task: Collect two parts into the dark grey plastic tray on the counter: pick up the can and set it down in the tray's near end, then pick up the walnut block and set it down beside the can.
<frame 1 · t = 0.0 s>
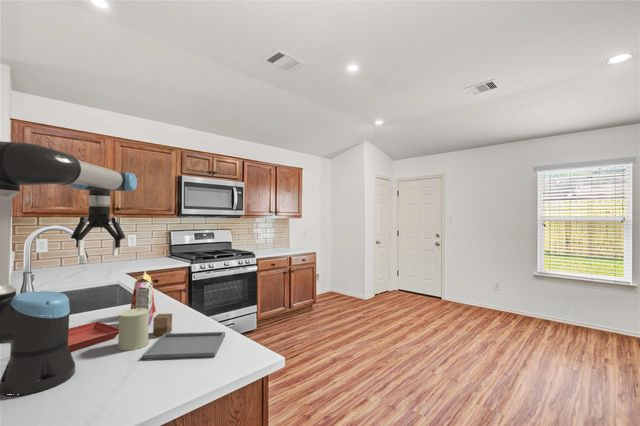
hand: (98, 255, 131), 28 cm above the counter, fingers open, 13 cm apart
plant saucer: (82, 341, 110), on the counter
can: (133, 345, 106), on the counter
tray: (187, 346, 106), on the counter
walnut block: (162, 333, 117), on the counter
candy bar box: (143, 324, 127), on the counter
milk carton: (142, 316, 138), on the counter
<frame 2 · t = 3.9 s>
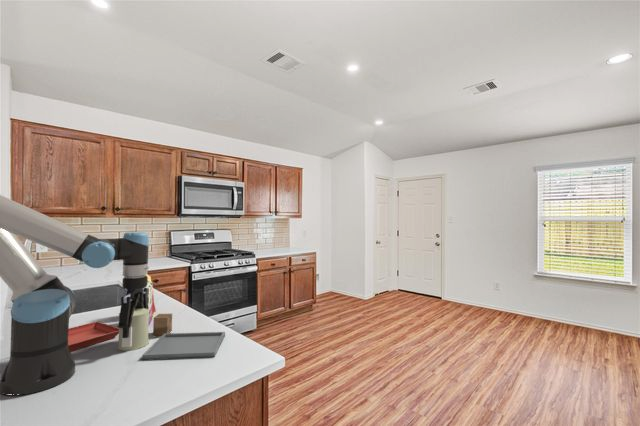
hand: (133, 340, 106), 1 cm above the counter, fingers closed on can, 9 cm apart
can: (133, 345, 106), on the counter, touching gripper
everything else where it was.
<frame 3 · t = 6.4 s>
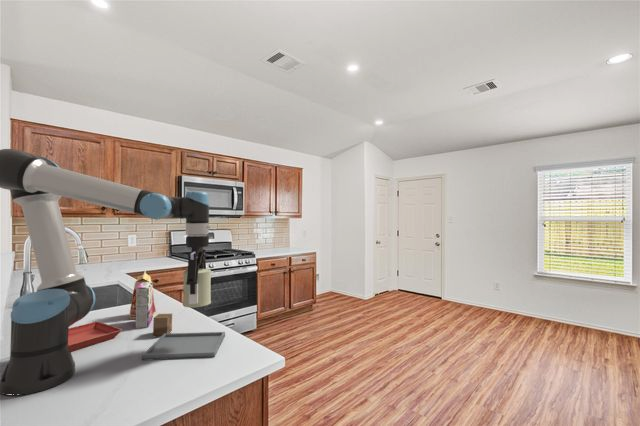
hand: (197, 299, 107), 16 cm above the counter, fingers closed on can, 9 cm apart
can: (197, 304, 107), point 14 cm above the counter, touching gripper
everything else where it was.
when the fingers open (4 cm above the counter, at t = 9.2 s): can drops 2 cm, resting on tray.
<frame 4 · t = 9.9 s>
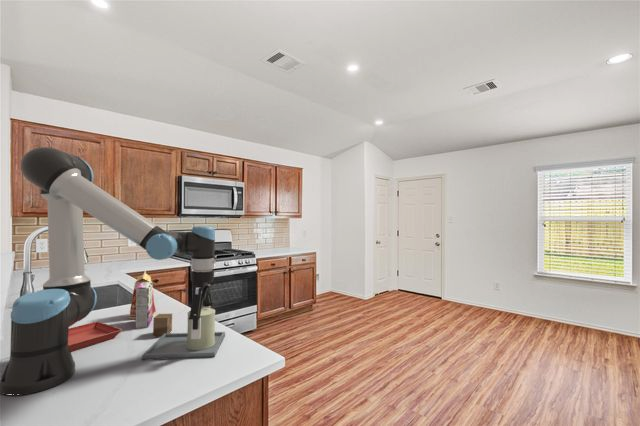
hand: (201, 331, 106), 5 cm above the counter, fingers open, 13 cm apart
can: (200, 345, 106), resting on tray
everything else where it was.
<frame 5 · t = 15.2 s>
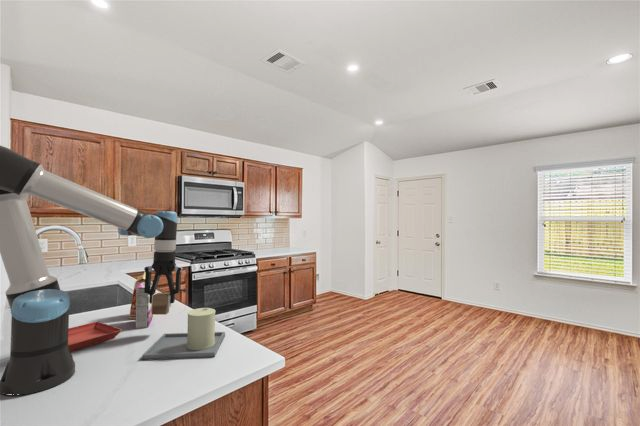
hand: (161, 311, 117), 9 cm above the counter, fingers closed on walnut block, 5 cm apart
walnut block: (161, 312, 117), point 8 cm above the counter, touching gripper
everything else where it was.
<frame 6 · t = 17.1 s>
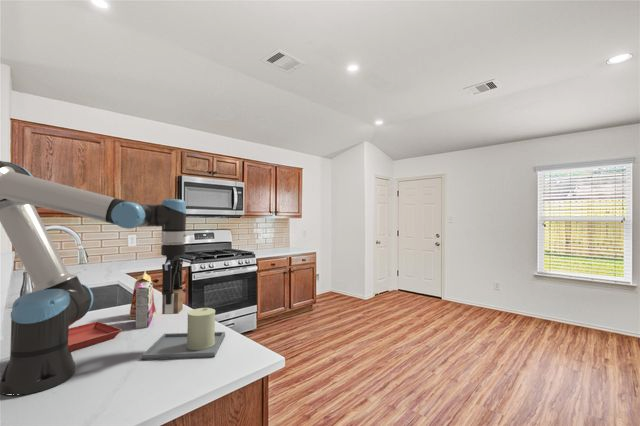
hand: (172, 310, 105), 13 cm above the counter, fingers closed on walnut block, 5 cm apart
walnut block: (172, 311, 105), point 12 cm above the counter, touching gripper
everything else where it was.
when the fingers open (1 cm above the counter, at t = 19.4 s): walnut block stays where it is, resting on tray.
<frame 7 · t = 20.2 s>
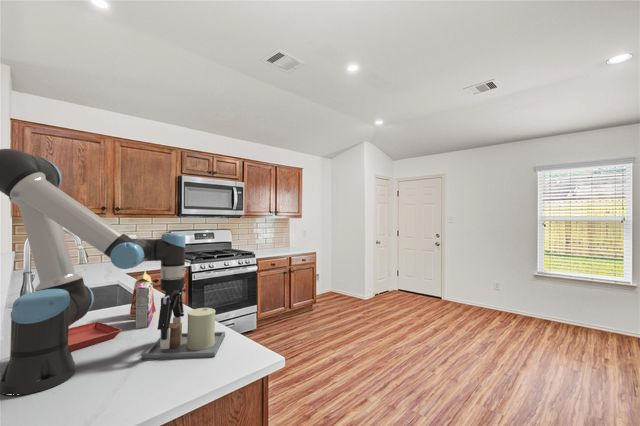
hand: (171, 341, 105), 2 cm above the counter, fingers open, 10 cm apart
walnut block: (171, 345, 105), resting on tray
everything else where it was.
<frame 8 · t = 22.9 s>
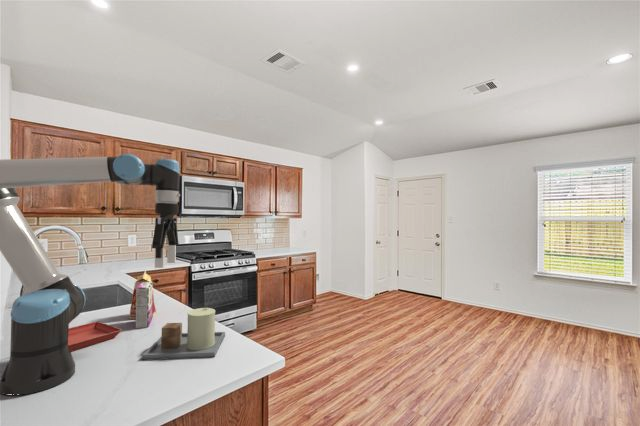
hand: (165, 265, 108), 28 cm above the counter, fingers open, 10 cm apart
nothing on the counter moved.
at the end: can inside the target area on the tray (4.5 cm from its centre), point 0.3 cm above the tray's base; walnut block inside the target area on the tray (5.3 cm from its centre), point 0.5 cm above the tray's base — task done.
